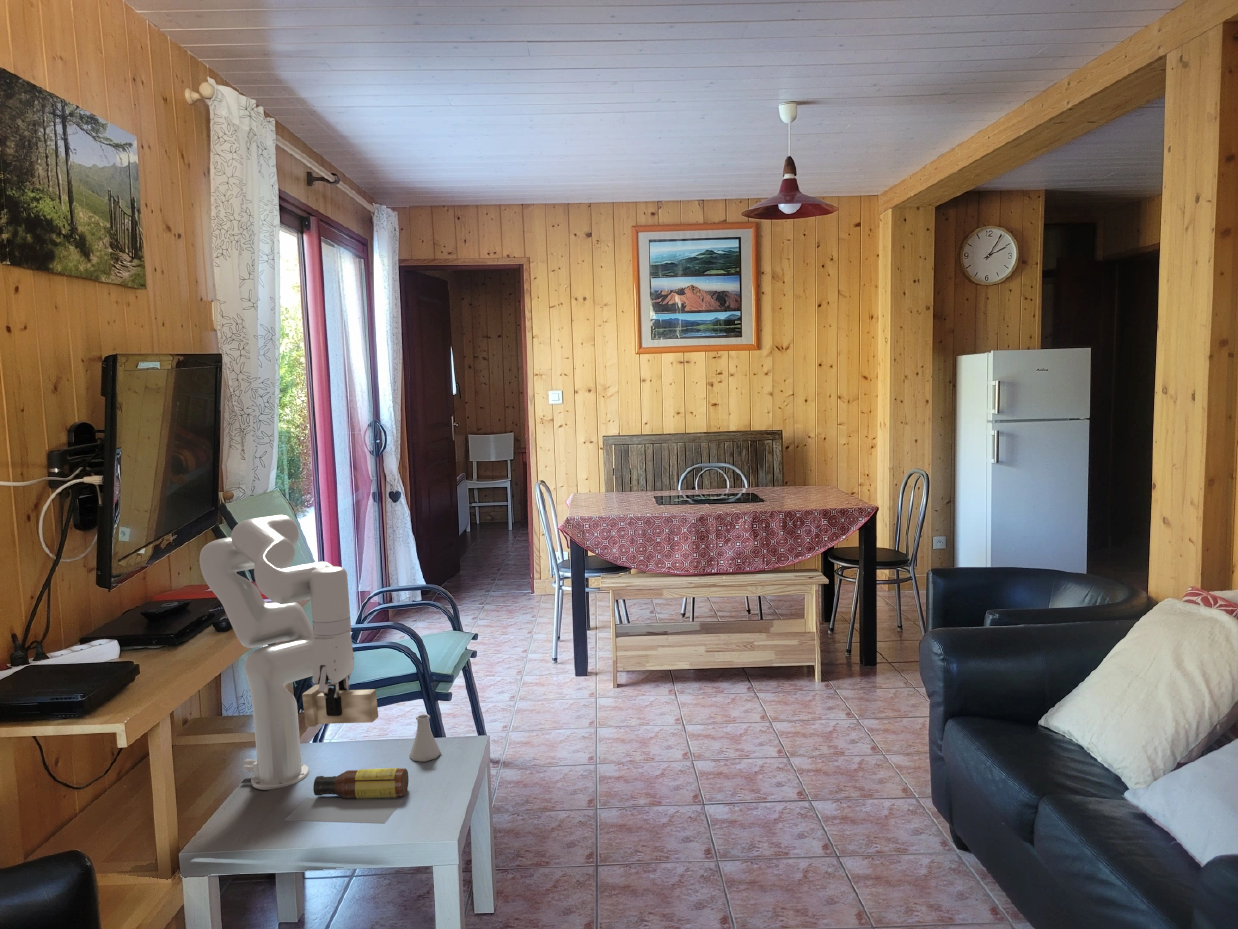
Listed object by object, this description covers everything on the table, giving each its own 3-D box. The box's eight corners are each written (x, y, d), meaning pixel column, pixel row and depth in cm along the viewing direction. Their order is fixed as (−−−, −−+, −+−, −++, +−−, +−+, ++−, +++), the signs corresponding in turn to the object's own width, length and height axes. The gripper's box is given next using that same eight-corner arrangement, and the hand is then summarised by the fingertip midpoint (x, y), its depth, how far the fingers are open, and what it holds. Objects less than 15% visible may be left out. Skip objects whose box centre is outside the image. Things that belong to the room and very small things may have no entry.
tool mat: (284, 823, 182) (284, 820, 182) (307, 800, 192) (307, 797, 191) (384, 826, 179) (384, 823, 178) (403, 803, 188) (403, 800, 188)
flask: (424, 765, 208) (421, 724, 207) (403, 758, 212) (401, 718, 211) (446, 754, 213) (444, 714, 213) (426, 747, 218) (424, 709, 217)
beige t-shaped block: (305, 727, 181) (302, 694, 181) (319, 716, 187) (316, 684, 186) (369, 725, 179) (366, 692, 179) (381, 714, 185) (378, 682, 184)
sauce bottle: (411, 770, 196) (323, 770, 196) (404, 765, 190) (314, 765, 191) (407, 801, 192) (318, 801, 193) (400, 797, 187) (309, 797, 187)
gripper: (333, 616, 190) (339, 698, 192) (295, 637, 174) (302, 727, 176) (365, 616, 189) (371, 699, 191) (330, 637, 173) (337, 727, 174)
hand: (338, 711), depth 183 cm, fingers closed on beige t-shaped block, 2 cm apart
